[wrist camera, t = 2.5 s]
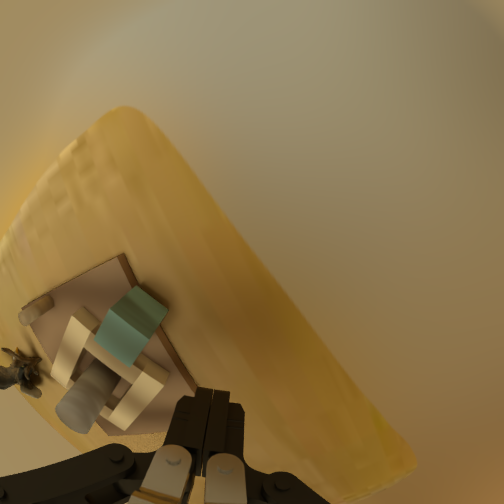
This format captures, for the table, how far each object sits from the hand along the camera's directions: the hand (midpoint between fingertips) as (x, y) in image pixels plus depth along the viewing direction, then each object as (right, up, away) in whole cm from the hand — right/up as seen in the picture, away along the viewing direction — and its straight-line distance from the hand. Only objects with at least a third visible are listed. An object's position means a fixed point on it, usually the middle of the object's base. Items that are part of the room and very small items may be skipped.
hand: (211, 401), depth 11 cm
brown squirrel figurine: (-25, -6, +11) cm, 29 cm away
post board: (-11, -4, +11) cm, 16 cm away
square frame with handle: (-10, -2, +9) cm, 13 cm away
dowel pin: (-16, +2, +8) cm, 18 cm away
